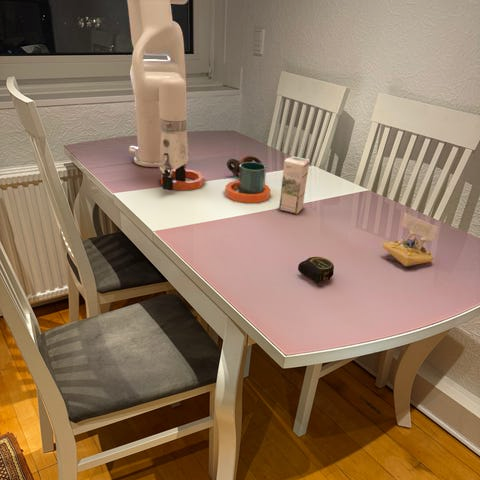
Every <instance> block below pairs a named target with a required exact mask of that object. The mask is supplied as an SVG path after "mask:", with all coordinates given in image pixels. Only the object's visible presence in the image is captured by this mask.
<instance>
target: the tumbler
mask: <svg viewBox="0 0 480 480" xmlns="http://www.w3.org/2000/svg"><path fill="white" fill-rule="evenodd" d="M261 163H262V162H261ZM261 163H256V162H255V161H252V162H245V163H241V164H240V170H239V173H238V180H239V186H238V189H237V192H239V193H244V194H258V193H261V192H263V191H264V187H265V185H266V174H267V166H266V165H265V164H263V163H262V164H261Z"/></svg>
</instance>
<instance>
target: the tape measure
mask: <svg viewBox="0 0 480 480" xmlns="http://www.w3.org/2000/svg"><path fill="white" fill-rule="evenodd" d="M297 270H298V272H299V273H300V274H301V275H303V276H304V277H306V278H308V279H309V280H311V281H312V282H313V283H315V284H317V285H321V284H322V283H323V282H328V281H330V280H331V278H333V276H334V272H335V271H334V270H335V265H334V263H333V262H332V260H330V259H328V258H325V257H322V256H311V257H308V258H307V259H305V260H303V261H301V262H300V263H299V264H298V265H297Z"/></svg>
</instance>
